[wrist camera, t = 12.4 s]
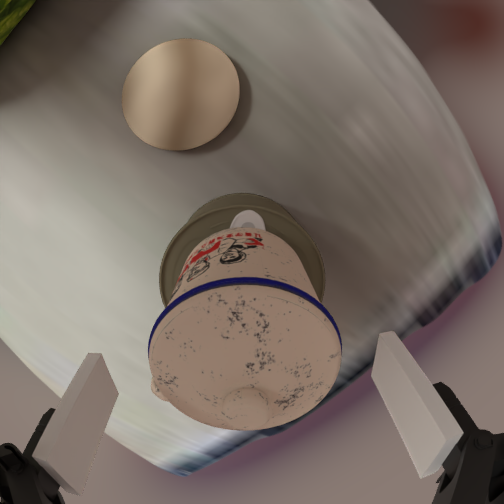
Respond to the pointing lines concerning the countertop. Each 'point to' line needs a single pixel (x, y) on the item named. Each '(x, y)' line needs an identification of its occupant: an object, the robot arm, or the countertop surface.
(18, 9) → the lettuce
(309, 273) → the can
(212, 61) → the beech coaster
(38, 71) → the countertop surface
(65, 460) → the robot arm
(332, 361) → the teacup with lid
